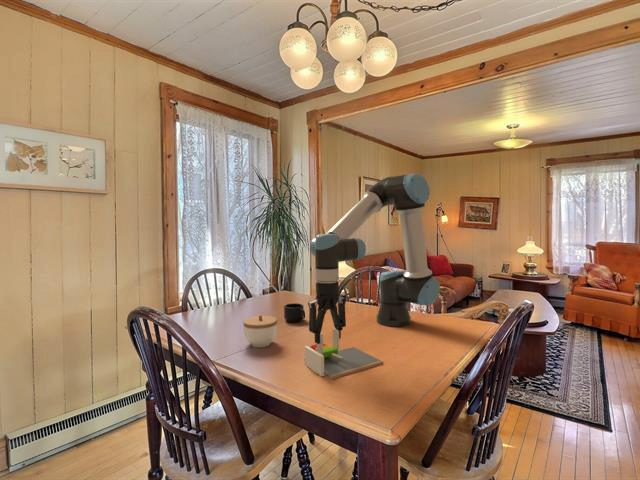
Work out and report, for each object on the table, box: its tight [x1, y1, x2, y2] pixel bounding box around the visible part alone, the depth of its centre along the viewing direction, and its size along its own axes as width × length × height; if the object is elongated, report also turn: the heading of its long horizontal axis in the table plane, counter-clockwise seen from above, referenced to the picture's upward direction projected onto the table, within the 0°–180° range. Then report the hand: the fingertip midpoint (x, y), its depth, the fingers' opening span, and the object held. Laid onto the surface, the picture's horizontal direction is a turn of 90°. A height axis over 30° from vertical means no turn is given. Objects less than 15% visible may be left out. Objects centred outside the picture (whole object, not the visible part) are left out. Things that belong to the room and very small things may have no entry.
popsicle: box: [309, 343, 343, 359], centre depth 115 cm, size 6×15×2 cm, turn 34°
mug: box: [283, 302, 306, 323], centre depth 161 cm, size 12×9×7 cm
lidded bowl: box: [243, 314, 278, 348], centre depth 131 cm, size 13×13×11 cm
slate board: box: [304, 346, 384, 380], centre depth 114 cm, size 20×16×1 cm
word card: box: [304, 345, 325, 377], centre depth 108 cm, size 1×10×6 cm, turn 32°
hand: (328, 350), depth 115 cm, fingers closed on popsicle, 6 cm apart
